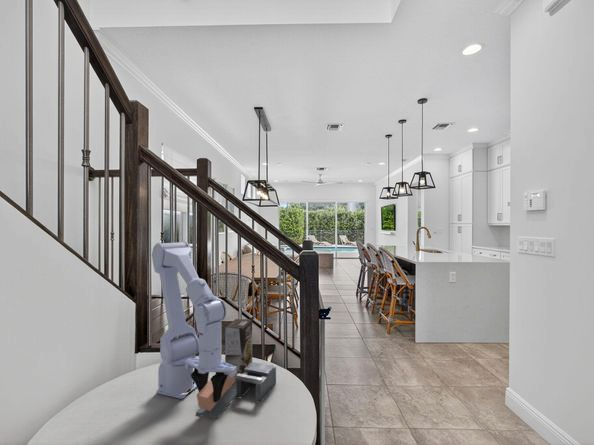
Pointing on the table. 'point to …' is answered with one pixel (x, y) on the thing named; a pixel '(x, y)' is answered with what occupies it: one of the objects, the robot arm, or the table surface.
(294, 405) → the table surface
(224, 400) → the pad
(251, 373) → the dispenser
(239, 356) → the coffee box
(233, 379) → the salmon rectangular block
